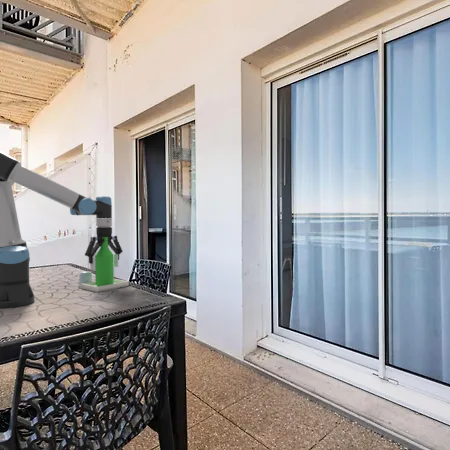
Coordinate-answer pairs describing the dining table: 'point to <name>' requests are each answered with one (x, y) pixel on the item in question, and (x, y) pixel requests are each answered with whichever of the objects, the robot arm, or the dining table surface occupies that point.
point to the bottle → (104, 265)
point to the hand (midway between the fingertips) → (104, 268)
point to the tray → (92, 286)
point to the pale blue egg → (85, 277)
